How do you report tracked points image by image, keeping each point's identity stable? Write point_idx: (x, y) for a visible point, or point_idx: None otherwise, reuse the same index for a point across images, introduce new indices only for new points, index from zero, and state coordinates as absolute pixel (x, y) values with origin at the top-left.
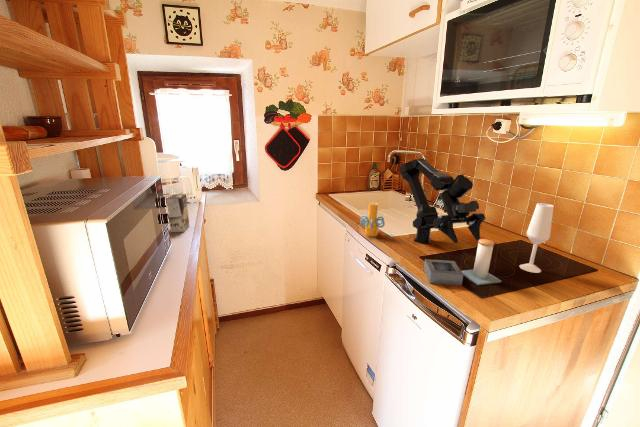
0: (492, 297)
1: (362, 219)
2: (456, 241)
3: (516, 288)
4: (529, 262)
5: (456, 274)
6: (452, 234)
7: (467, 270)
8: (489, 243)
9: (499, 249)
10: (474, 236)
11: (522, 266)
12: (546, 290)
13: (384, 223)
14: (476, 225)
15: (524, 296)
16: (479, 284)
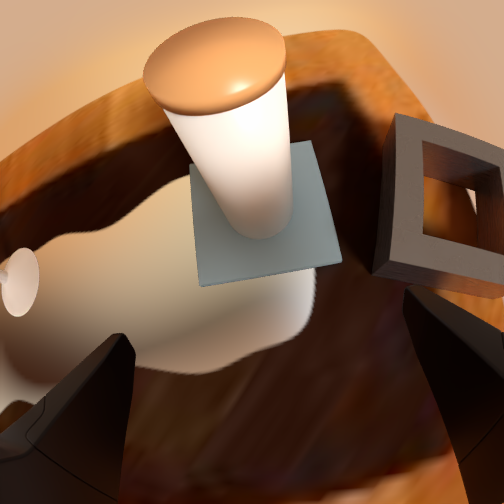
0: (300, 82)
1: None
2: (423, 289)
3: (170, 131)
4: (4, 280)
5: (423, 121)
6: (491, 333)
7: (295, 263)
8: (216, 25)
9: None
10: (124, 410)
11: (28, 289)
12: (93, 134)
13: None
14: (22, 454)
15: None
16: (304, 144)
